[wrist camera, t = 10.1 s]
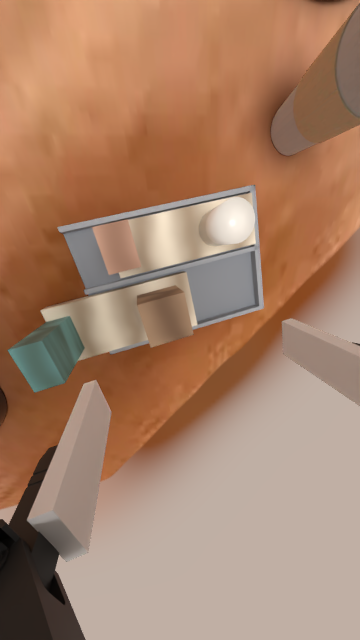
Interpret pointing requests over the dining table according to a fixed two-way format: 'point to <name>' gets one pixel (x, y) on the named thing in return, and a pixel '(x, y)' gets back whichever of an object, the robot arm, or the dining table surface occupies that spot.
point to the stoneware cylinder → (228, 223)
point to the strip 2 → (88, 330)
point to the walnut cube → (164, 315)
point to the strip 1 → (159, 239)
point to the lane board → (180, 266)
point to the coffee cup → (323, 95)
